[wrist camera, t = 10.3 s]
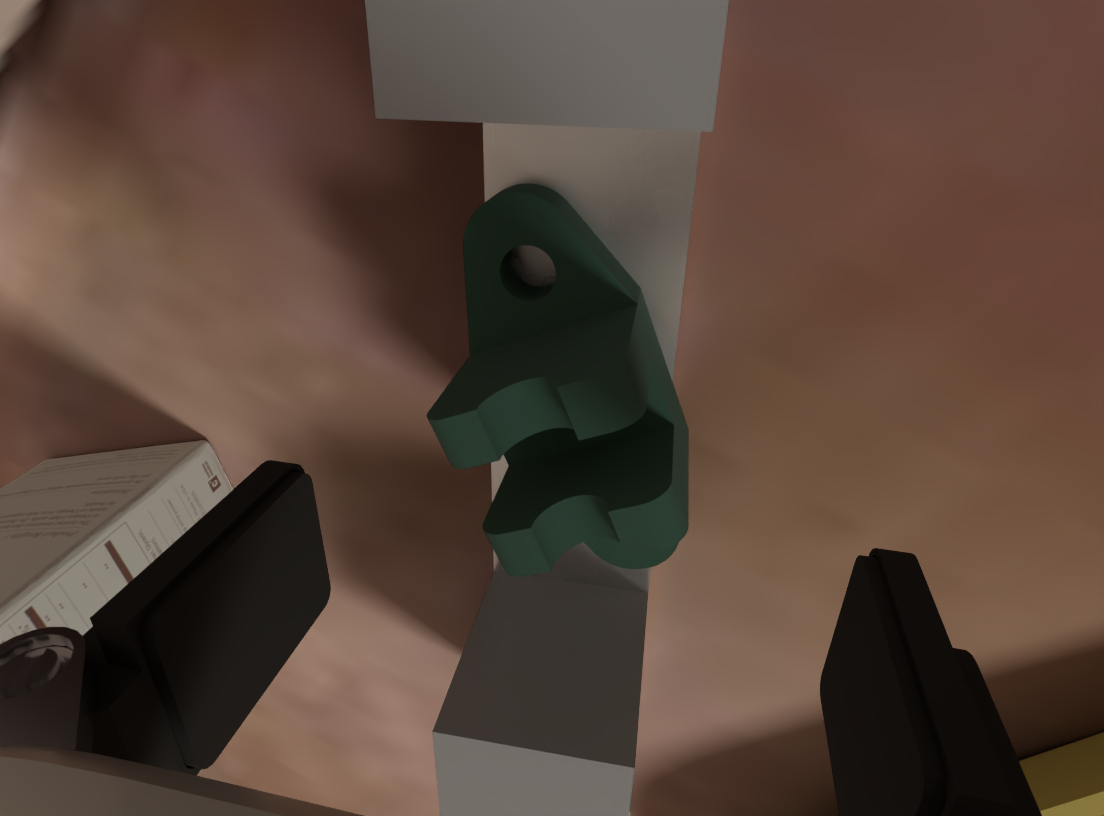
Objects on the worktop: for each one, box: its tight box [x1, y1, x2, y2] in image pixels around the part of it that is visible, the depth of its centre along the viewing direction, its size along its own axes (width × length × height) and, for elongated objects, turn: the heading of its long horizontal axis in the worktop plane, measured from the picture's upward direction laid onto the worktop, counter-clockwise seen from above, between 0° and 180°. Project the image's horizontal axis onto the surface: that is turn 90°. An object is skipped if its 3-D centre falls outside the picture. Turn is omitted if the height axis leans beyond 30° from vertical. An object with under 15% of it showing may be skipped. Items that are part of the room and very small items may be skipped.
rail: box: [483, 123, 701, 593], centre depth 19 cm, size 5×26×1 cm, turn 179°
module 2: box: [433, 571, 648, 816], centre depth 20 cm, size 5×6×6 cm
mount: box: [427, 183, 688, 577], centre depth 16 cm, size 11×4×5 cm, turn 21°
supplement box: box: [0, 440, 233, 644], centre depth 19 cm, size 7×7×13 cm
